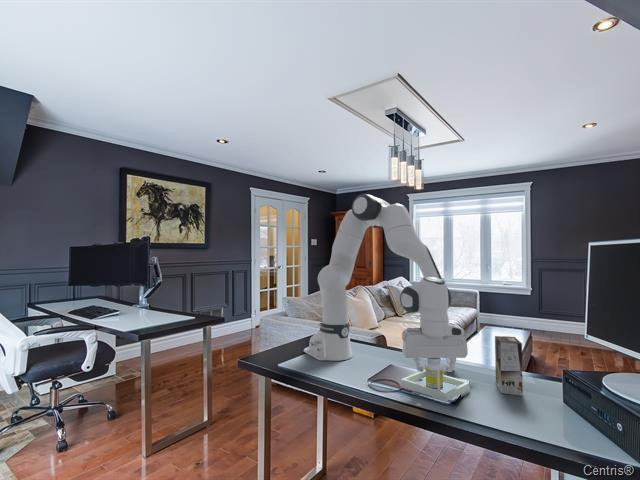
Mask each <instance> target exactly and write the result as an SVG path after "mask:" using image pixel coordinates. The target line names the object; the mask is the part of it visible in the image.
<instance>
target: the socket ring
mask: <svg viewBox="0 0 640 480" xmlns="http://www.w3.org/2000/svg"><path fill="white" fill-rule="evenodd" d="M367 385H368V386H369V388H370V389H372V390H373V391H376V392H382V393H394V392H396V391H394V389H380V388H377V387H374V386H373V385H372V384H371V385H370V384H369V382H368V384H367Z"/></svg>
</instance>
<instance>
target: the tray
mask: <svg viewBox="0 0 640 480" xmlns="http://www.w3.org/2000/svg"><path fill="white" fill-rule="evenodd" d="M424 377H426V375H425V369H423V372H418V371H417V372H415V373H412V374H410V375H408V376H406V377H403V378H401V379H400V383H401V385H402V386H405V387H408V388H411V389H414V390H416V391H418V392H421V393H423V394H427V395H430V396H432V397H434V398H437V399H439V400H442V401H445V402H447V401H448V400H450V399H452V398H453V397H455V396H457V395H459V394H461V398H462V397H464V396H466V395H467V394H470V393H471V388H470V387H471V386H470V385H471V384H470V382H468V381H465V380H462V379H459V378H455V377H452V376H448V375H446V374H443V382H445V383H449V384H453V385H456V386H458V387H456V388H454V389H452V390H450V391H448V392H446V393H444V392H441V391H438V390H435V389H432V388H430V387H427V386H424V385H421V384H418V383H415V382H414V381H417V380H419V379H421V378H424Z"/></svg>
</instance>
